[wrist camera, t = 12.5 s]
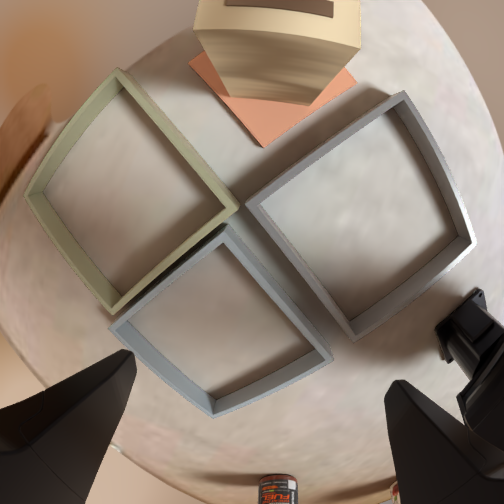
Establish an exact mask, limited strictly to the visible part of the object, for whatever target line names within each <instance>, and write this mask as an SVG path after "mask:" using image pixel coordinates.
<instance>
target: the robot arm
mask: <svg viewBox="0 0 504 504" xmlns="http://www.w3.org/2000/svg"><path fill="white" fill-rule="evenodd" d="M435 333H436V336H437V338H438V341H439V344H440V346H441V349H442V352H443V355H444V358H445V361H446V362H447V363H448V364H449V363H451V362H452V361H453V360H455V361H456V362H457V364H458V365H459V366H460V368H461V369H462V370H463V372H464V373H465V374H466V376H467V377H468V378H469V380H470V382H469V383H468V384H467V385H466V387H465V388H464V389H463V390H462V391H461V392H460V393H459V394H458V395H457V396H456V398H457V401H458V404H459V408H460V411H461V414H462V417H463V421H464V424H465V425H463V424H462V423H461V422H459V421H458V420H457V419H456V418H454V417H453V416H452V415H450V414H449V413H448V412H446V411H445V410H444V409H442V408H441V407H440V406H438V405H437V404H436V403H435V402H433V401H432V400H431V399H429V398H428V397H427V396H425V395H424V394H423V393H422V392H420V391H419V390H418V389H416V388H415V387H414V386H412V385H411V384H410V383H409V382H407V381H406V380H395V381H394V382H393V383H392V384H391V386H390V388H389V390H388V391H387V393H386V395H385V398H384V404H385V412H386V420H387V429H388V436H389V441H390V446H391V451H392V456H393V461H394V466H395V472H396V477H397V483H398V490H399V496H400V504H504V326H503V325H502V324H501V323H499V322H498V321H497V320H496V319H495V318H494V317H493V316H492V315H491V314H490V313H488V312H487V307H486V301H485V296H484V291H483V290H481V289H478V290H477V291H476V292H475V293H474V294H473V295H472V296H471V297H470V298H469V299H467V300H466V301H465V302H464V303H463V304H462V305H461V306H460V307H459V308H458V309H456V310H455V311H454V312H453V313H452V314H451V315H449V316H448V317H447V318H446V319H445V320H444V321H442V322H441V323H440V324H439V325H438V326H437V327H436V328H435ZM136 373H137V367H136V361H135V355H134V353H133V352H132V351H129V350H125V349H121V350H119V351H117V352H115V353H113V354H112V355H110V356H108V357H106V358H104V359H102V360H100V361H99V362H97V363H95V364H93V365H91V366H89V367H87V368H86V369H84V370H82V371H80V372H78V373H76V374H74V375H72V376H70V377H69V378H67V379H65V380H63V381H61V382H59V383H57V384H55V385H53V386H51V387H49V388H47V389H46V390H45V391H42V392H39V393H37V394H36V395H33V396H31V397H29V398H27V399H25V400H23V401H20V402H18V403H15V404H13V405H10V406H7V407H4V408H1V409H0V504H85V501H86V499H87V497H88V494H89V492H90V489H91V487H92V484H93V482H94V479H95V477H96V474H97V472H98V469H99V467H100V465H101V462H102V460H103V458H104V455H105V453H106V451H107V448H108V446H109V444H110V442H111V439H112V437H113V435H114V433H115V430H116V428H117V426H118V424H119V422H120V419H121V417H122V415H123V413H124V410H125V407H126V404H127V401H128V398H129V395H130V392H131V389H132V386H133V383H134V380H135V377H136Z"/></svg>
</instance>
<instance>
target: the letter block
mask: <svg viewBox="0 0 504 504" xmlns="http://www.w3.org/2000/svg"><path fill="white" fill-rule="evenodd" d="M193 31H194V33H195V35H196V36H197V38H198V40H199V41H200V43H201V45H202V47H203V48H204V50H205V52H206V54H207V55H208V57H209V59H210V61H211V62H212V64H213V66H214V68H215V69H216V71H217V73H218V75H219V77H220V78H221V80H222V82H223V84H224V86H225V88H226V90H227V91H228V93H229V95H230V97H232V98H246V99H258V100H267V101H276V102H284V103H291V104H298V105H304V106H310V105H311V104H312V103H313V102H314V100H315V99H316V98H317V97H318V96H319V95H320V93H321V92H322V91H323V90H324V89H325V88H326V87H327V85H328V84H329V83H330V82H331V81H332V80H333V79H334V78H335V76H336V75H337V74H338V73H339V72H340V71H341V70H342V69H343V68H344V66H345V65H346V64H347V63H348V62H349V61H350V60H351V59H352V58H353V57H354V55H355V54H356V53H357V52H358V51H359V50H360V49H361V12H360V0H199V4H198V9H197V13H196V17H195V21H194V26H193Z"/></svg>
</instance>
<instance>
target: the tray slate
mask: <svg viewBox="0 0 504 504" xmlns="http://www.w3.org/2000/svg"><path fill="white" fill-rule="evenodd" d="M223 242H224V244H225V245H226V246H227V247H228V248H229V250H230V251H231V252H232V253H233V254H234V255H235V257H236V258H237V259H238V260H239V261H240V262H241V264H242V265H243V266H244V267H245V268H246V269H247V271H248V272H249V273H250V274H251V275H252V276H253V278H254V279H255V280H256V281H257V282H258V283H259V285H260V286H261V287H262V288H263V289H264V290H265V292H266V293H267V294H268V295H269V296H270V297H271V298H272V300H273V301H274V302H275V303H276V304H277V305H278V306H279V308H280V309H281V310H282V311H283V312H284V313H285V315H286V316H287V317H288V318H289V319H290V320H291V321H292V323H293V324H294V325H295V326H296V327H297V328H298V329H299V330H300V332H301V333H302V334H303V335H304V336H305V337H306V338H307V340H308V341H309V342H310V343H311V344H312V345H313V346H314V347H315V349H314V350H313V351H311V352H309V353H308V354H306V355H304V356H302V357H301V358H299V359H297V360H295V361H294V362H292V363H290V364H288V365H286V366H285V367H283V368H281V369H279V370H277V371H275V372H273V373H272V374H270V375H268V376H266V377H264V378H262V379H260V380H258V381H256V382H254V383H252V384H250V385H248V386H246V387H244V388H242V389H240V390H237V391H235V392H233V393H231V394H229V395H227V396H224V397H222V398H220V399H218V400H215V399H214V398H213V397H211V396H210V395H209V394H207V393H206V392H205V391H204V390H202V389H201V388H200V387H199V386H197V385H196V384H195V383H194V382H193V381H191V380H190V379H189V378H188V377H187V376H185V375H184V374H183V373H182V372H181V371H180V370H178V369H177V368H176V367H175V366H174V365H173V364H172V363H170V362H169V361H168V360H167V359H166V358H165V357H164V356H163V355H162V354H161V353H160V352H158V351H157V350H156V349H155V348H154V347H153V346H152V345H151V344H150V343H149V342H148V341H147V340H146V339H145V338H144V337H143V336H142V335H141V334H140V333H139V332H138V331H137V330H136V329H135V328H134V327H133V326H132V325H131V324H130V323H129V322H128V321H127V320H128V319H129V318H130V317H131V316H133V315H134V314H135V313H136V312H137V311H139V310H140V309H141V308H142V307H144V306H145V305H146V304H147V303H148V302H150V301H151V300H152V299H153V298H154V297H156V296H157V295H158V294H159V293H161V292H162V291H163V290H164V289H165V288H167V287H168V286H169V285H170V284H172V283H173V282H174V281H175V280H176V279H178V278H179V277H180V276H181V275H183V274H184V273H185V272H186V271H188V270H189V269H190V268H191V267H193V266H194V265H195V264H196V263H198V262H199V261H200V260H201V259H203V258H204V257H205V256H206V255H208V254H209V253H210V252H211V251H213V250H214V249H215V248H217V247H218V246H219V245H220V244H222V243H223ZM108 329H109V330H110V331H111V332H112V333H113V334H114V335H115V337H116V338H117V339H118V340H119V341H120V342H121V343H122V344H123V345H125V346H126V347H127V348H128V349H129V350H130V351H132V352H133V353H134V355H135V356H136V357H137V358H138V359H139V360H140V361H141V362H142V363H144V364H145V365H146V366H147V367H148V368H149V369H150V370H151V371H153V372H154V373H155V374H156V375H157V376H158V377H159V378H161V379H162V380H163V381H164V382H165V383H167V384H168V385H169V386H170V387H171V388H173V389H174V390H175V391H176V392H178V393H179V394H180V395H181V396H183V397H184V398H185V399H187V400H188V401H189V402H191V403H192V404H193V405H195V406H196V407H197V408H199V409H200V410H201V411H203V412H204V413H205V414H207V415H208V416H210V417H211V418H213V419H214V418H217V417H220V416H222V415H225V414H227V413H230V412H232V411H234V410H237V409H239V408H242V407H244V406H246V405H249V404H251V403H253V402H255V401H258V400H260V399H262V398H264V397H266V396H268V395H271V394H273V393H275V392H277V391H279V390H281V389H283V388H285V387H287V386H289V385H291V384H293V383H295V382H297V381H298V380H300V379H302V378H304V377H306V376H308V375H310V374H312V373H313V372H315V371H317V370H319V369H320V368H322V367H324V366H326V365H327V364H329V363H331V362H333V361H334V358H333V355H332V351H331V348H330V345H329V344H328V343H327V342H326V340H325V339H324V338H323V337H322V336H321V334H320V333H319V332H318V331H317V330H316V328H315V327H314V326H313V325H312V324H311V322H310V321H309V320H308V319H307V318H306V316H305V315H304V314H303V313H302V312H301V310H300V309H299V308H298V307H297V306H296V304H295V303H294V302H293V301H292V300H291V298H290V297H289V296H288V295H287V294H286V292H285V291H284V290H283V289H282V288H281V286H280V285H279V284H278V283H277V282H276V280H275V279H274V278H273V277H272V276H271V274H270V273H269V272H268V271H267V270H266V268H265V267H264V266H263V265H262V264H261V262H260V261H259V260H258V259H257V258H256V256H255V255H254V254H253V253H252V252H251V250H250V249H249V248H248V247H247V246H246V244H245V243H244V242H243V241H242V240H241V238H240V237H239V236H238V235H237V234H236V232H235V231H234V230H233V229H232V228H231V226H230V225H229V224H227V225H226V226H225V227H224V228H222V229H221V230H220V231H219V232H217V233H216V234H215V235H214V236H212V237H211V238H210V239H209V240H207V241H206V242H205V243H204V244H203V245H201V246H200V247H199V248H198V249H196V250H195V251H194V252H193V253H192V254H190V255H189V256H188V257H187V258H185V259H184V260H183V261H182V262H181V263H179V264H178V265H177V266H176V267H175V268H173V269H172V270H171V271H170V272H169V273H168V274H166V275H165V276H164V277H163V278H162V279H160V280H159V281H158V282H157V283H156V284H155V285H153V286H152V287H151V288H150V289H149V290H148V291H146V292H145V293H144V294H143V295H142V296H141V297H139V298H138V299H137V300H136V301H135V302H134V303H133V304H131V305H130V306H129V307H128V308H127V309H126V310H125V311H123V312H122V313H121V314H120V315H119V316H118V317H117V318H116V319H115V320H114V322H113V323H112V324H111V325H110V327H109V328H108Z"/></svg>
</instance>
